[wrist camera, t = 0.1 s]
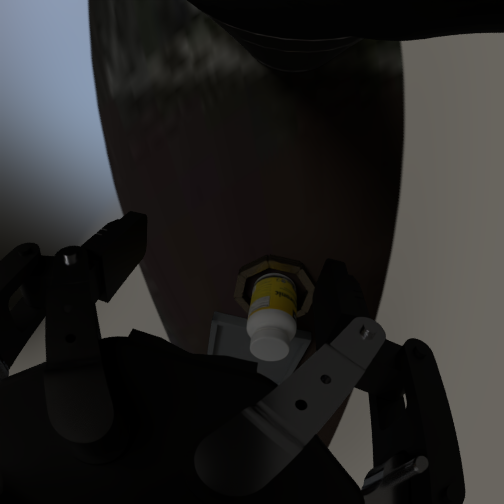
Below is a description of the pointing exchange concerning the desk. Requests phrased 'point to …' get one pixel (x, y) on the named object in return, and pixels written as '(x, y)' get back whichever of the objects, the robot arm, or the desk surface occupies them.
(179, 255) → the desk surface
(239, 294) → the ring collar
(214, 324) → the tray
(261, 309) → the supplement bottle
